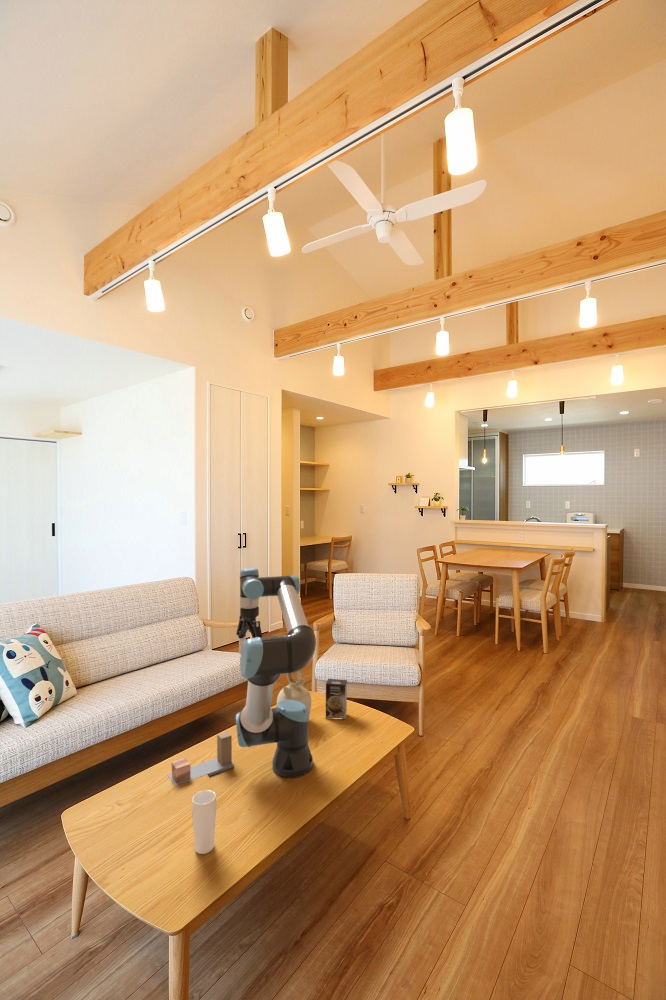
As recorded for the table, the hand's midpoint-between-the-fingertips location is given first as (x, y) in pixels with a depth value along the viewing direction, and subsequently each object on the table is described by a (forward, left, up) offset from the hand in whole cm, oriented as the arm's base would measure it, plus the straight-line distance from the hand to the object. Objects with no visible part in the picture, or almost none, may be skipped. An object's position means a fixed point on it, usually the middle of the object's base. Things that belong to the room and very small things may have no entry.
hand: (249, 658), depth 195 cm
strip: (-9, +24, -35) cm, 43 cm away
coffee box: (-3, -42, -35) cm, 54 cm away
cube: (-9, +32, -34) cm, 47 cm away
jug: (+3, -23, -35) cm, 42 cm away
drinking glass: (-45, +37, -35) cm, 68 cm away
